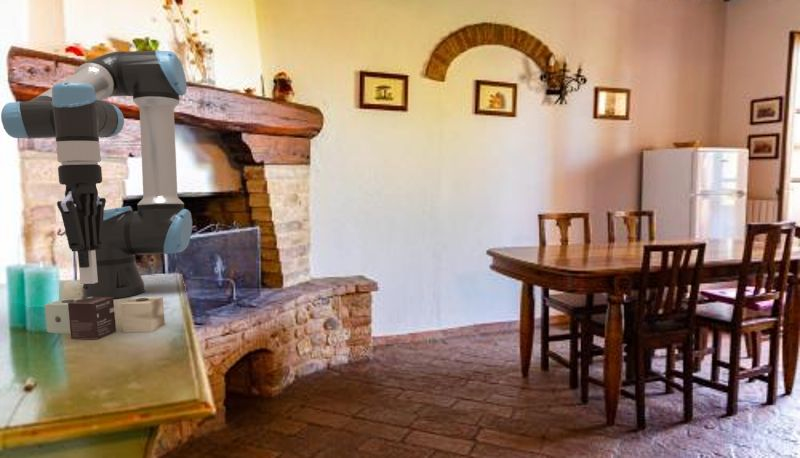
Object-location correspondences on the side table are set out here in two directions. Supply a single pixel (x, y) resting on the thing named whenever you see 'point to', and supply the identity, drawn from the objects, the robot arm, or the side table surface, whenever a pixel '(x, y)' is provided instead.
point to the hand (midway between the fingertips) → (89, 282)
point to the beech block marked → (142, 314)
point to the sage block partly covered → (58, 316)
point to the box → (91, 317)
